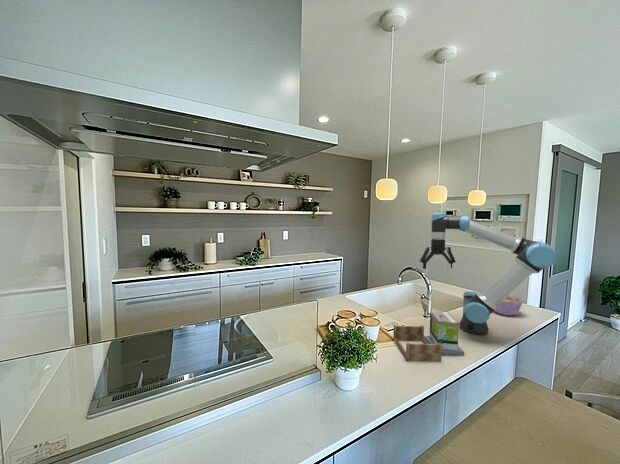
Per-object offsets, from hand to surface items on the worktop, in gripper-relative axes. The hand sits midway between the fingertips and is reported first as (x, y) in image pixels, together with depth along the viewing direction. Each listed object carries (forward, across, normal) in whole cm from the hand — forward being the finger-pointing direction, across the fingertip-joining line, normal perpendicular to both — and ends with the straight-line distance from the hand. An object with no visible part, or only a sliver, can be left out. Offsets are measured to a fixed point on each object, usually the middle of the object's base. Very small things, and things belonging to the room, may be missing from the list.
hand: (437, 274), depth 155 cm
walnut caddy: (+35, +21, +23) cm, 47 cm away
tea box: (+33, +6, +20) cm, 39 cm away
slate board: (+35, +6, +20) cm, 40 cm away
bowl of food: (+35, -62, -29) cm, 77 cm away
